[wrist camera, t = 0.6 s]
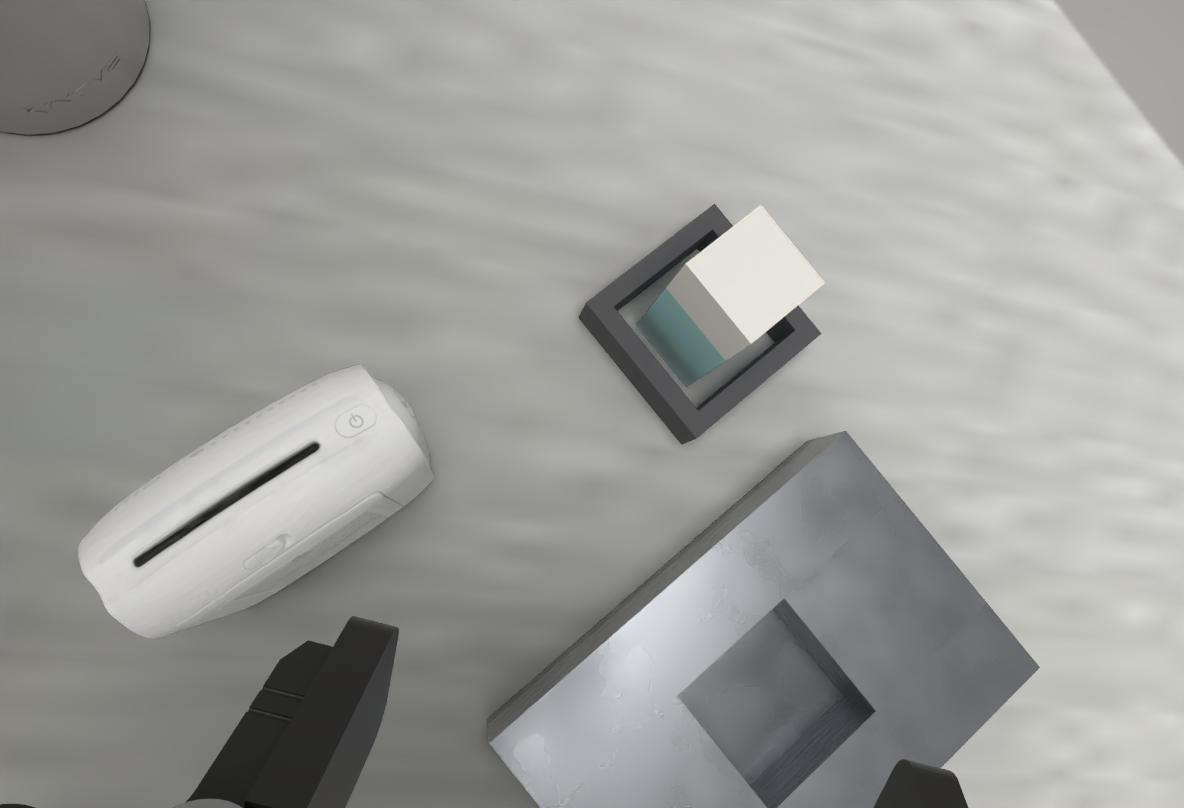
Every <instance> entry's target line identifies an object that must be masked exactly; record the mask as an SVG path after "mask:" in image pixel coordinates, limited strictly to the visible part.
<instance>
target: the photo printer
mask: <svg viewBox="0 0 1184 808" xmlns="http://www.w3.org/2000/svg"><path fill="white" fill-rule="evenodd" d="M434 478H435V476H434V474H433V472H432V470H431V468H430V457H429V451H428V448H427V445H426V442H425V439H424V437H423V434H422V431H421V429H420V426H419V424H418V422H417V419H416V417H415V415H414V413H413V411H412V409H411V407H410V406H409V404H408V403H407V402H406V400H405V399H404V398H403V397H402V396H401V395H400V394H399V393H398V392H397V391H396V390H395V389H394V388H393V387H391V386H389V385H388V384H386V383H384V382H382V381H380V380H377V379H374V378H372V377H371V376H370V375H369V373H368V372H367V371H366V369H365V368H364V366H363V365H361V364H358V365H355V366H351V367H348V368H345V369H342V370H339V371H335V372H333V373H331V374H328V375H325V376H323V377H321V378H318V379H316V380H314V381H312V382H311V383H309V384H307V385H304V386H303V387H301V388H299V389H297V390H295V391H293V392H291V393H289V394H288V395H286V396H284V397H282V398H280V399H279V400H277V401H275V402H273V403H271V404H269V405H268V406H266V407H264V408H262V409H261V410H259V411H257V412H255V413H254V414H252V415H250V416H249V417H247V418H245V419H244V420H242V421H240V422H239V423H237V424H235V425H234V426H232V427H230V428H229V429H227V430H225V431H224V432H222V433H221V434H219V435H217V436H216V437H214V438H213V439H211V440H209V441H208V442H206V443H205V444H203V445H202V446H200V447H198V448H197V449H195V450H194V451H192V452H191V453H189V454H188V455H186V456H185V457H183V458H182V459H180V460H178V461H177V462H176V463H174V464H173V465H171V466H170V467H168V468H167V469H165V470H164V471H162V472H161V473H159V474H158V475H157V476H155V477H154V478H152V479H151V480H149V481H148V482H147V483H145V484H144V485H143V486H141V487H140V488H138V489H137V490H136V491H134V492H133V493H131V494H130V495H129V496H127V497H126V498H125V499H124V500H122V501H121V502H120V503H118V504H117V505H116V506H115V507H114V508H112V509H111V510H110V511H109V512H108V513H107V514H106V515H104V516H103V518H102V519H101V520H100V521H98V522H97V523H96V525H95V526H94V527H93V528H92V529H91V530H90V531H89V532H88V533H87V535H86V536H85V537H84V538H83V539H82V541H81V542H80V545H79V550H78V556H79V562H80V566H81V569H82V571H83V574H84V576H85V577H86V578H87V579H88V580H89V582H90V583H91V584H92V585H93V586H94V587H95V589H96V590H97V592H98V593H99V595H100V597H101V599H102V601H103V604H104V606H105V608H106V610H107V611H108V612H109V613H110V614H111V615H112V616H113V617H114V618H115V619H116V620H117V621H119V622H120V623H121V624H122V625H124V626H125V627H126V628H128V629H129V630H131V631H133V632H134V633H136V634H138V635H140V636H143V637H145V638H149V639H155V638H160V637H164V636H166V635H169V634H172V633H175V632H178V631H181V630H184V629H187V628H190V627H193V626H196V625H199V624H202V623H205V622H208V621H211V620H214V619H218V618H221V617H224V616H227V615H230V614H233V613H236V612H238V611H241V610H244V609H246V608H249V607H251V606H253V605H255V604H257V603H259V602H261V601H263V600H265V599H266V598H268V597H270V596H271V595H273V594H275V593H277V592H278V591H280V590H281V589H283V588H284V587H286V586H287V585H289V584H291V583H292V582H294V581H295V580H297V579H298V578H300V577H301V576H303V575H305V574H306V573H308V572H309V571H311V570H312V569H314V568H315V567H317V566H318V565H320V564H321V563H323V562H325V561H326V560H328V559H329V558H330V557H332V556H333V555H335V554H336V553H338V552H339V551H341V550H342V549H344V548H345V547H347V546H348V545H350V544H351V543H353V542H354V541H356V540H357V539H359V538H360V537H362V536H363V535H365V534H366V533H368V532H369V531H370V530H372V529H373V528H375V527H376V526H377V525H379V524H380V523H382V522H383V521H385V520H386V519H387V518H389V517H390V516H392V515H393V514H394V513H396V512H397V511H399V510H400V509H401V508H402V507H403V506H405V505H407V504H408V503H409V502H411V501H412V500H413V499H414V498H415V497H417V496H418V495H419V494H420V493H421V492H422V491H423V490H424V489H425V488H426V487H427V486H428V485H429V484H430V483H431V482H432V481H433V480H434Z"/></svg>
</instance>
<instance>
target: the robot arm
mask: <svg viewBox="0 0 1184 808" xmlns="http://www.w3.org/2000/svg"><path fill="white" fill-rule="evenodd" d="M148 46H149V18H148V14H147V9H146V5H145V1H144V0H0V131H1V132H7V133H17V134H27V135H32V134H44V133H55V132H59V131H62V130H66V129H69V128H73V127H77V126H80V125H82V124H84V123H86V122H88V121H90V120H92V119H94V118H96V117H98V116H100V115H101V114H103V113H104V112H105V111H106V110H108V109H109V108H110V107H112V106H113V105H114V104H115V103H117V102H118V101H119V100H120V99H121V98H122V97H123V96H124V94H125V93H126V92H127V91H128V90H129V88H130V87H131V86H132V85H133V84H134V82H135V80H136V78H137V76H138V74H139V72H140V70H141V69H142V67H143V65H144V62H145V58H146V54H147V50H148ZM398 633H399V629H398V627H394V626H390V625H386V624H382V623H378V622H374V621H370V620H367V619H363V618H359V617H355V616H352V617H351V618H350V619H349V621H348V622H347V624H346V626H345V627H344V629H343V631H342V632H341V634H340V636H339V638H338V639H337V641H336V643H335V645H334V646H333V647H331V646H328V645H324V644H320V643H316V642H312V641H307V642H305V643H304V644H302V645H301V646H299V647H298V648H296V649H295V650H294V651H292V652H291V653H289V654H288V655H286V656H285V657H283V658H282V659H280V661H279V662H278V664H277V665H276V667H275V669H274V670H273V672H272V673H271V675H270V676H269V678H268V679H267V681H266V682H265V684H264V686H263V689H262V691H260V692H259V693H258V695H257V696H256V698H255V699H254V701H253V702H252V704H251V705H250V708H249V711H248V712H246V713H245V715H244V716H243V718H242V719H241V721H240V722H239V724H238V726H237V727H236V729H235V730H234V732H233V733H232V735H231V736H230V738H229V739H228V741H227V742H226V744H225V746H224V747H223V749H222V750H221V752H220V753H219V755H218V756H217V758H216V759H215V761H214V762H213V764H212V766H211V767H210V769H209V770H208V772H207V773H206V775H205V776H204V778H203V779H202V781H201V782H200V784H199V786H198V787H197V789H196V790H195V792H194V793H193V794H192V795H191V797H190V798H189V799H188V800H187V801H186V802H185V803H183V804H180V805H177V806H175V807H173V808H345V807H346V805H347V802H348V800H349V798H350V795H351V793H352V791H353V789H354V786H355V784H356V782H357V780H358V777H359V775H360V773H361V770H362V768H363V766H364V764H365V761H366V759H367V757H368V755H369V752H370V750H371V748H372V746H373V743H374V741H375V738H376V736H377V733H378V730H379V727H380V724H381V721H382V717H383V714H384V710H385V706H386V701H387V696H388V691H389V685H390V679H391V674H392V668H393V663H394V657H395V652H396V646H397V640H398ZM0 808H35V807H31V806H28V805H21V804H1V805H0ZM873 808H968V806H967V803H966V800H965V798H964V795H963V792H962V790H961V787H960V784H959V782H958V779H957V777H956V776H955V774H954V773H953V772H951V771H949V770H945V769H941V768H937V767H933V766H929V765H925V764H921V763H918V762H914V761H910V760H906V759H902V760H900V761H899V762H897V764H896V765H895V767H894V768H893V770H892V772H891V774H890V776H889V778H888V780H887V782H886V784H885V786H884V788H883V790H882V792H881V794H880V796H879V798H878V799H877V801H876V803H875V805H874V807H873Z"/></svg>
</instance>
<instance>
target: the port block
mask: <svg viewBox="0 0 1184 808" xmlns="http://www.w3.org/2000/svg"><path fill="white" fill-rule="evenodd" d="M1039 668H1040V667H1039V666H1038V665H1037V663H1036V662H1035V661H1034V660H1033V659H1032V657H1031V656H1030V655H1029V654H1028V653H1027V651H1026V650H1025V649H1024V648H1023V646H1022V645H1021V644H1020V643H1019V642H1018V640H1017V639H1016V638H1015V637H1014V635H1013V634H1012V633H1011V632H1010V631H1009V629H1008V628H1007V627H1006V626H1005V624H1004V623H1003V622H1002V621H1001V620H1000V618H999V617H998V616H997V615H996V613H995V612H994V611H993V610H992V609H991V607H990V606H989V605H988V604H987V602H986V601H985V600H984V599H983V598H982V596H981V595H980V594H979V593H978V592H977V590H976V589H975V588H974V587H973V585H972V584H971V583H970V582H969V581H968V579H967V578H966V577H965V576H964V574H963V573H962V572H961V571H960V570H959V568H958V567H957V566H956V565H955V563H954V562H953V561H952V560H951V559H950V557H949V556H948V555H947V554H946V552H945V551H944V550H943V549H942V548H941V546H940V545H939V544H938V543H937V542H936V540H935V539H934V538H933V537H932V535H931V534H930V533H929V532H928V531H927V529H926V528H925V527H924V526H923V524H922V523H921V522H920V521H919V520H918V518H917V517H916V516H915V515H914V513H913V512H912V511H911V510H910V509H909V507H908V506H907V505H906V504H905V502H904V501H903V500H902V499H901V498H900V496H899V495H898V494H897V493H896V492H895V490H894V489H893V488H892V487H891V485H890V484H889V483H888V482H887V481H886V479H885V478H884V477H883V476H882V474H881V473H880V472H879V471H878V470H877V468H876V467H875V466H874V465H873V463H872V462H871V461H870V460H869V459H868V457H867V456H866V455H865V454H864V452H863V451H862V450H861V449H860V448H859V446H858V445H857V444H856V443H855V441H854V440H853V439H852V438H851V437H850V435H849V434H848V433H847V432H846V431H843V432H839V433H836V434H832V435H828V436H824V437H821V438H817V439H813V440H809V441H807V442H806V443H805V444H803V445H802V446H801V447H800V448H799V449H798V450H797V451H795V452H794V453H793V454H792V455H791V456H790V457H789V458H787V459H786V460H785V461H784V462H783V463H782V464H780V465H779V466H778V467H777V468H776V469H775V470H774V471H772V472H771V473H770V474H769V475H768V476H767V477H765V478H764V479H763V480H762V481H761V482H760V483H759V484H757V485H756V486H755V487H754V488H753V489H752V490H751V491H749V492H748V493H747V494H746V495H745V496H744V497H742V498H741V499H740V500H739V501H738V502H737V503H736V504H734V505H733V506H732V507H731V508H730V509H729V510H728V511H726V512H725V513H724V514H723V515H722V516H721V517H719V518H718V519H717V520H716V521H715V522H714V523H713V524H711V525H710V526H709V527H708V528H707V529H706V530H704V531H703V532H702V533H701V534H700V535H699V536H698V537H696V538H695V539H694V540H693V541H692V542H691V543H690V544H688V545H687V546H686V547H685V548H684V549H683V550H681V551H680V552H679V553H678V554H677V555H676V556H675V557H673V558H672V559H671V560H670V561H669V562H668V563H666V564H665V565H664V566H663V567H662V568H661V569H660V570H658V571H657V572H656V573H655V574H654V575H653V576H652V577H650V578H649V579H648V580H647V581H646V582H645V583H643V584H642V585H641V586H640V587H639V588H638V589H637V590H635V591H634V592H633V593H632V594H631V595H630V596H628V597H627V598H626V599H625V600H624V601H623V602H622V603H620V604H619V605H618V606H617V607H616V608H615V609H614V610H612V611H611V612H610V613H609V614H608V615H607V616H605V617H604V618H603V619H602V620H601V621H600V622H599V623H597V624H596V625H595V626H594V627H593V628H592V629H590V630H589V631H588V632H587V633H586V634H585V635H584V636H582V637H581V638H580V639H579V640H578V641H577V642H576V643H574V644H573V645H572V646H571V647H570V648H569V649H567V650H566V651H565V652H564V653H563V654H562V655H561V656H559V657H558V658H557V659H556V660H555V661H554V662H553V663H551V664H550V665H549V666H548V667H547V668H546V669H544V670H543V671H542V672H541V673H540V674H539V675H538V676H536V677H535V678H534V679H533V680H532V681H531V682H529V683H528V684H527V685H526V686H525V687H524V688H523V689H521V690H520V691H519V692H518V693H517V694H516V695H515V696H513V697H512V698H511V699H510V700H509V701H508V702H506V703H505V704H504V705H503V706H502V707H501V708H500V709H498V710H497V711H496V712H495V713H494V714H493V715H491V716H490V717H489V718H488V719H487V724H488V737H489V744H490V745H491V746H492V748H493V749H494V750H495V751H496V753H497V754H498V755H499V757H500V758H501V759H502V760H503V762H504V763H505V764H506V765H507V767H508V768H509V769H510V770H511V772H512V773H513V774H514V775H515V777H516V778H517V779H518V780H519V782H520V783H521V784H522V785H523V787H524V788H525V789H526V790H527V792H528V793H529V794H530V795H531V797H532V798H533V799H534V800H535V802H536V803H537V804H538V805H539V807H540V808H873V807H874V805H875V803H876V801H877V799H878V798H879V796H880V794H881V792H882V790H883V788H884V786H885V784H886V782H887V780H888V778H889V776H890V774H891V772H892V770H893V768H894V767H895V765H896V764H897V762H899V761H900V760H902V759H906V760H910V761H914V762H918V763H921V764H925V765H929V766H933V767H937V768H941V767H942V766H943V765H944V764H945V763H946V762H947V761H948V760H949V759H950V758H951V757H952V756H953V755H954V754H955V753H956V752H957V751H958V750H959V749H960V748H961V747H962V746H963V745H964V744H965V743H966V742H967V741H968V740H969V739H970V738H971V737H972V736H973V735H974V734H975V733H976V732H977V731H978V730H979V729H980V728H981V727H982V726H983V725H984V724H985V723H986V722H987V721H988V719H989V718H990V717H991V716H992V715H993V714H994V713H995V712H996V711H997V710H998V709H999V708H1000V707H1001V706H1002V705H1003V704H1004V703H1005V702H1006V701H1007V700H1008V699H1009V698H1010V697H1011V696H1012V695H1013V694H1014V693H1015V692H1016V691H1017V690H1018V689H1019V688H1020V687H1021V686H1022V685H1023V684H1024V683H1025V682H1026V681H1027V680H1028V679H1029V678H1030V677H1031V676H1032V675H1033V674H1034V673H1035V672H1036V671H1037V670H1038V669H1039Z"/></svg>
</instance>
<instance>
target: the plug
mask: <svg viewBox="0 0 1184 808" xmlns="http://www.w3.org/2000/svg"><path fill="white" fill-rule="evenodd" d="M823 284H825V282H824V281H823V280H822V278H821V277H820V276H819V275H818V274H817V272H816V271H815V270H814V269H813V267H812V266H811V265H810V264H809V263H808V261H807V260H806V259H805V258H804V257H803V255H802V254H801V253H800V252H799V250H798V249H797V248H796V247H795V246H794V244H793V243H792V242H791V241H790V240H789V238H788V237H787V236H786V235H785V233H784V232H783V231H782V230H781V229H780V227H779V226H778V225H777V224H776V223H775V221H774V220H773V219H772V218H771V216H770V215H769V214H768V213H767V212H766V210H765V209H764V208H763V207H762V205H760V206H758V207H757V208H756V209H755V210H753V211H752V212H751V213H750V214H748V215H747V216H746V217H744V218H743V219H742V220H741V221H739V222H738V223H737V224H736V225H734V226H733V227H732V228H730V229H729V230H728V231H727V232H725V233H724V234H723V235H721V236H720V237H719V238H718V239H716V240H715V241H714V242H713V243H711V244H710V245H709V246H707V247H706V248H705V249H704V250H702V251H701V252H700V253H698V254H697V255H696V256H695V257H693V258H692V259H691V260H690V261H688V262H687V263H686V264H685V265H684V266H683V267H682V269H681V270H680V271H679V272H678V274H677V275H676V276H675V277H674V279H673V280H672V281H671V282H670V283H669V285H668V286H667V287H666V288H665V290H664V291H663V292H662V293H661V295H660V296H659V297H658V298H657V300H656V301H655V302H654V303H653V305H652V306H651V307H650V308H649V310H648V311H647V312H646V313H645V314H644V316H643V317H642V318H641V319H640V321H639V322H638V323H637V324H636V326H637V327H638V328H639V330H640V331H641V332H642V333H643V334H644V336H645V337H646V338H647V339H648V341H649V342H650V343H651V344H652V346H653V347H654V348H655V349H656V350H657V352H658V353H659V354H660V355H661V357H662V358H663V359H664V360H665V361H666V363H667V364H668V365H669V366H670V368H671V369H672V370H673V371H674V373H675V374H676V375H677V376H678V377H679V379H680V380H681V381H682V382H683V384H684V385H685V386H686V387H687V386H688V385H690V384H691V383H693V382H694V381H696V380H698V379H699V378H701V377H702V376H704V375H705V374H707V373H708V372H710V371H711V370H713V369H714V368H716V367H717V366H719V365H720V364H722V363H723V362H725V361H726V360H728V359H729V358H731V357H732V356H734V355H735V354H737V353H738V352H740V351H741V350H743V349H744V348H746V347H747V346H749V345H750V344H752V343H753V342H754V341H755V340H757V339H758V338H759V337H760V336H761V335H763V334H764V333H765V332H766V331H768V330H769V329H770V328H771V327H772V326H774V325H775V324H776V323H777V322H778V321H780V320H781V319H782V318H783V317H785V316H786V315H787V314H788V313H789V312H791V311H792V310H793V309H794V308H795V307H797V306H798V305H799V304H800V303H802V302H803V301H804V300H805V299H806V298H808V297H809V296H810V295H811V294H812V293H814V292H815V291H816V290H817V289H819V288H820V287H821V286H822V285H823Z"/></svg>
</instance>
